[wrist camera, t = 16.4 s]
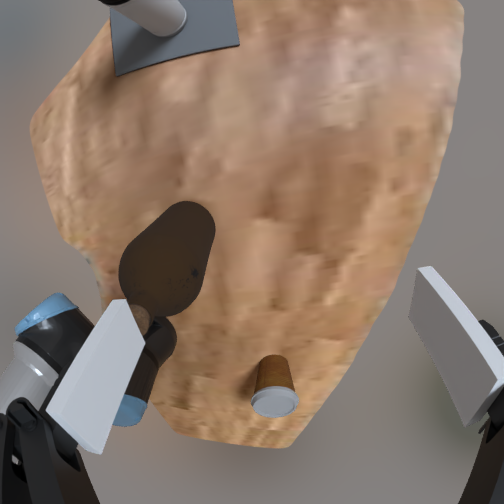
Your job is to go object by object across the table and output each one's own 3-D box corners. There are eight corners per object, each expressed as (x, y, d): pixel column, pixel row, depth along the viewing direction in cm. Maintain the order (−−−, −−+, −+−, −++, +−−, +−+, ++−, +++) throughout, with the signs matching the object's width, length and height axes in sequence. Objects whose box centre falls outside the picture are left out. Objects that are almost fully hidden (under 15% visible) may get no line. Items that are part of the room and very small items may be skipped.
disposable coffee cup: (294, 375, 64) (298, 417, 53) (254, 377, 64) (252, 419, 53) (295, 348, 59) (299, 392, 49) (250, 350, 60) (248, 394, 49)
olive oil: (185, 183, 45) (114, 255, 22) (232, 228, 48) (207, 331, 25) (147, 227, 48) (72, 316, 26) (191, 266, 51) (148, 374, 29)
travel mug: (152, 44, 34) (84, 10, 16) (147, 12, 31) (83, -33, 13) (191, 32, 33) (142, -17, 15) (185, 0, 30) (138, -59, 12)
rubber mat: (117, 76, 36) (115, 76, 36) (111, 9, 30) (109, 8, 30) (239, 45, 35) (239, 44, 34) (227, -25, 29) (227, -27, 28)
